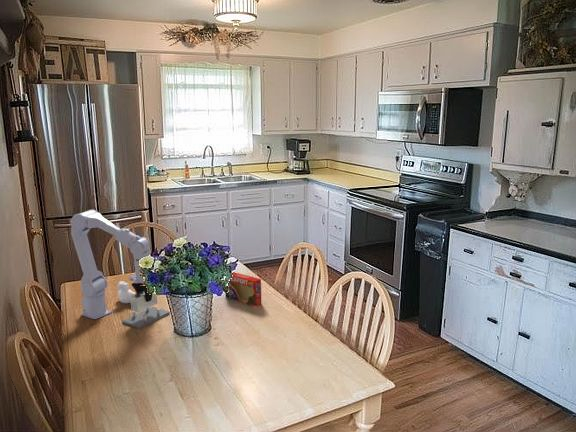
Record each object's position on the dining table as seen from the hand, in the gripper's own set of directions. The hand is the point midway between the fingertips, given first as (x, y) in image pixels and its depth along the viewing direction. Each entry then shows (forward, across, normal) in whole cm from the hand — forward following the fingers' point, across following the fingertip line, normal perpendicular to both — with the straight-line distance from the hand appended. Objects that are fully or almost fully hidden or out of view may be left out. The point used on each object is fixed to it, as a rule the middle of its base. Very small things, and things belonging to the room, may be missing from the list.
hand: (145, 299), depth 182 cm
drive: (+3, 0, -1) cm, 3 cm away
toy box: (+8, +23, +35) cm, 43 cm away
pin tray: (+8, 0, 0) cm, 8 cm away
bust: (+8, -21, +7) cm, 24 cm away
